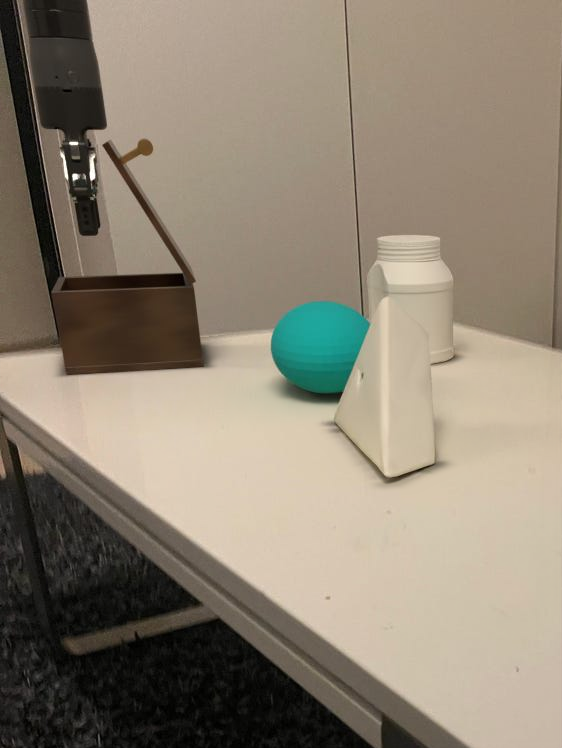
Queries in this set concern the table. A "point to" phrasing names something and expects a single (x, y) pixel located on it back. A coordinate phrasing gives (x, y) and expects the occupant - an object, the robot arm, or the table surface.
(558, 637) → the table surface
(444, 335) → the jar
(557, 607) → the table surface
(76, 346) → the chest
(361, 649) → the table surface
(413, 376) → the white wedge
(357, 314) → the toy
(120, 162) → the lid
